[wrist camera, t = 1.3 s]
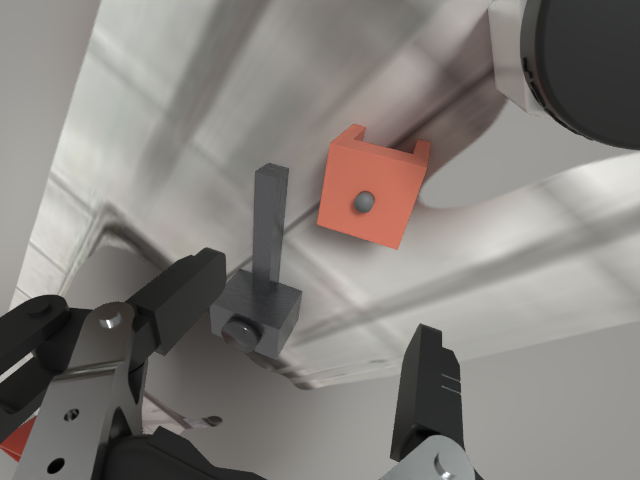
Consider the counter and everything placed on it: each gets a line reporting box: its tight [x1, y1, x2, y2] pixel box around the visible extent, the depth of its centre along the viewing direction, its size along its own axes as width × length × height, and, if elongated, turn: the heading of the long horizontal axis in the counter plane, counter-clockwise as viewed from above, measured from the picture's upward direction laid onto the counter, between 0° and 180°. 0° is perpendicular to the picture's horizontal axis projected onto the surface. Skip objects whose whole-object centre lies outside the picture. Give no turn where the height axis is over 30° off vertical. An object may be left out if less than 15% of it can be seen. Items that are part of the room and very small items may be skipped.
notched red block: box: [317, 124, 431, 250], centre depth 22 cm, size 6×6×7 cm
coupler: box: [210, 163, 302, 360], centre depth 30 cm, size 19×8×7 cm, turn 171°
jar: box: [488, 0, 640, 150], centre depth 12 cm, size 9×8×12 cm
